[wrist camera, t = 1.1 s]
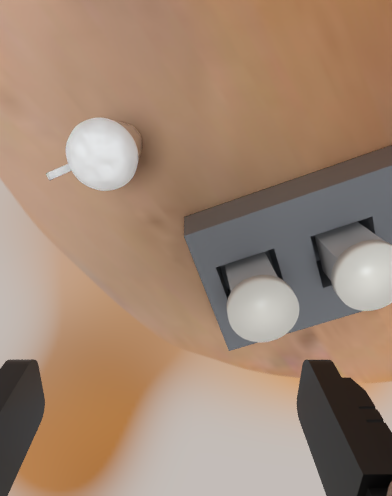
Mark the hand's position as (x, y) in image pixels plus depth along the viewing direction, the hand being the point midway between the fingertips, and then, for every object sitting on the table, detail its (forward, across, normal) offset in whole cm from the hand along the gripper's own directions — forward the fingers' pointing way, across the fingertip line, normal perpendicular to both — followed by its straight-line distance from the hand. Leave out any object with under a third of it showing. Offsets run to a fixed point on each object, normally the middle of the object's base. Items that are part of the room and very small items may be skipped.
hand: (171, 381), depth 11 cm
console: (+23, -14, +3) cm, 27 cm away
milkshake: (+23, +5, -5) cm, 24 cm away
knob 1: (+19, -6, +6) cm, 21 cm away
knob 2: (+19, -14, +3) cm, 24 cm away
